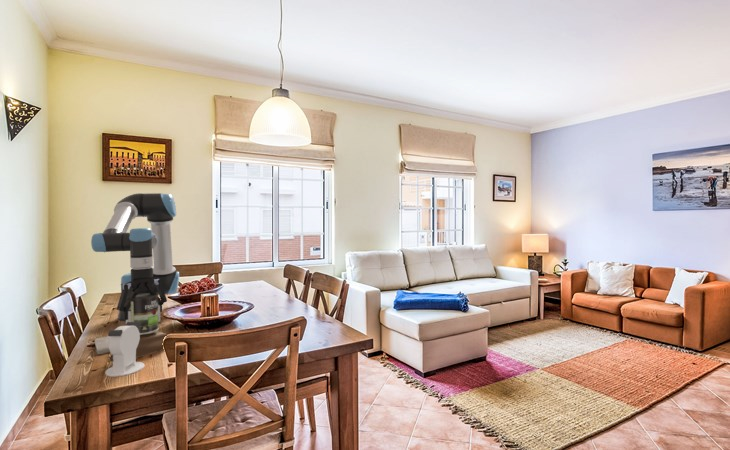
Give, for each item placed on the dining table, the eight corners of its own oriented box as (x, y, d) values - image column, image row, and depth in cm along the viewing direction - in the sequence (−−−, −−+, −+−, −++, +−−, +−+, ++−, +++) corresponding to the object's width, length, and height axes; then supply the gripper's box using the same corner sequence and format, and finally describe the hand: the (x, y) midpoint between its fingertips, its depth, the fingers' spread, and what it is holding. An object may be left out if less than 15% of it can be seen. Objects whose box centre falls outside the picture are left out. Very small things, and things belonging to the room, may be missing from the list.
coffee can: (164, 327, 150) (163, 293, 150) (144, 336, 140) (143, 299, 140) (142, 326, 152) (141, 292, 152) (121, 334, 142) (120, 298, 142)
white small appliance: (120, 362, 135) (119, 321, 134) (152, 361, 135) (151, 320, 134) (97, 376, 123) (95, 331, 122) (131, 376, 123) (130, 331, 122)
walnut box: (120, 351, 145) (120, 336, 145) (153, 343, 155) (152, 328, 155) (134, 358, 138) (133, 342, 138) (167, 349, 148) (166, 333, 148)
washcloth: (127, 337, 163) (127, 330, 163) (133, 349, 149) (133, 341, 149) (93, 344, 155) (93, 336, 155) (97, 356, 141) (96, 348, 141)
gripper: (113, 272, 134) (115, 333, 135) (175, 265, 152) (177, 318, 153) (104, 270, 139) (106, 330, 139) (166, 263, 157) (168, 316, 158)
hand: (143, 324), depth 146 cm, fingers closed on coffee can, 10 cm apart
